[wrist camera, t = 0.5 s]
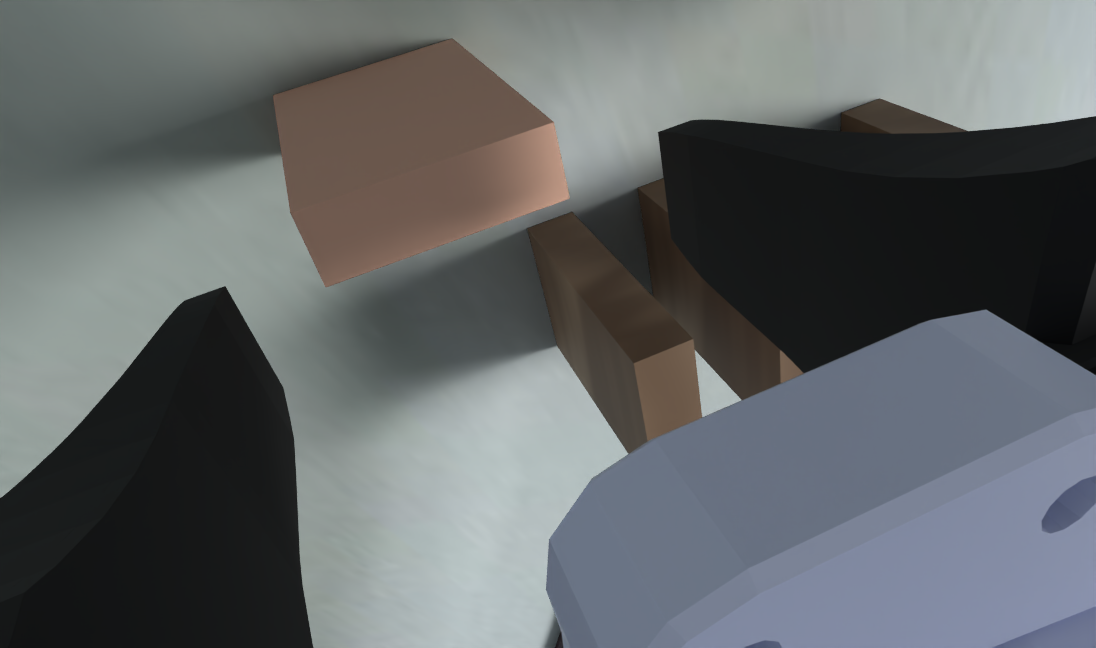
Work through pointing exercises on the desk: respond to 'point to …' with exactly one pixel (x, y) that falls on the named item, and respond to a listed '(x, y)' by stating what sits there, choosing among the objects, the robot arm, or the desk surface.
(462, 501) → the desk surface
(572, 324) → the domino
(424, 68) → the domino
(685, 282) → the domino
